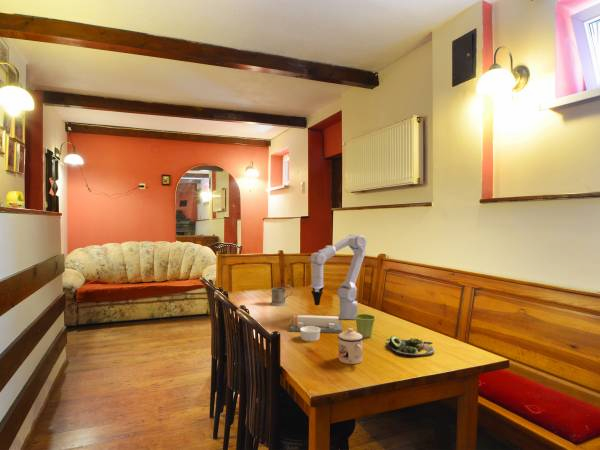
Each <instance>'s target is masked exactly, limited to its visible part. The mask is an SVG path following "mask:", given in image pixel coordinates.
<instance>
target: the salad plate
mask: <svg viewBox="0 0 600 450" xmlns="http://www.w3.org/2000/svg"><path fill="white" fill-rule="evenodd" d="M433 343H434V342H432V341H423V338H422V339H419V338H412V337H410V338H409V339H408V338H407V339H401V338H400V337H398V336H397V335H391V336H390V338H387V339H386V343H385V344H386V347H387V349H388V350H390V352H392V353H393V354H395V355H397V356H400V357H405V358H417V357H424V356H428V355H429V356H430V355H432V354H434V353H435V351H436V350H435V348H433V347H431V346H430V345H433ZM418 350H419V351H424V350H425V353H419V351H418ZM426 351H427V352H426Z"/></svg>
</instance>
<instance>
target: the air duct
mask: <svg viewBox="0 0 600 450" xmlns="http://www.w3.org/2000/svg"><path fill="white" fill-rule="evenodd" d="M339 320H340V319H339V315H313V314H294V316H293V321H294V326H298V322H303V326H323V327H329V323H334V327H338V323H339Z"/></svg>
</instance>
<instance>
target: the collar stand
mask: <svg viewBox="0 0 600 450" xmlns="http://www.w3.org/2000/svg"><path fill="white" fill-rule="evenodd" d="M342 325H343V324H342V322H339V323H338V327H334V323H329V327H323V326H315V327H319V328H320V333H326V334H327V333H330V334H331V333H333V334H340V333H342V332H343V328H342V327H343V326H342ZM302 327H305V326H303V322H298V326H294V320H292V322H291V324H290V326H289V332H293V331H294V332H297V333H299V332H300V333H301V331H300V328H302Z"/></svg>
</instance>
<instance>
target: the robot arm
mask: <svg viewBox="0 0 600 450" xmlns="http://www.w3.org/2000/svg"><path fill="white" fill-rule="evenodd" d="M366 245H367V240H366V237H365V236H364V235H362V234H361V235H360V234H358V235H356V234H349V235H347V236H345V237H344V238H343V239H341V240H340V241H338V242H337V243H335V244H333V245H331V244H330V245H325V247H324V248H322V249H319V250H318V251H317V252H313V253H311V255H310V257H309V261H310V263H311V284H309V287H310V288H312V290H311V295H312V298H313V302H314V305H315V306H320V304H321V297H322V295H323V292H324V291H323V290H324V287H325V285H324V264H325V263H326V261H327V260H328V259H330V258H332V257H334V256H335V255H336V253H337V252H338V251H340V250H342V249H344V248H346V247H349V248H350V249H351V250H352V252H353V255H352V259H351V263H350V266H349V269H348V272H347V275H346V276H345V280H344V281H343V282H342V283H341V284H340V285H339V287H338V289H337V291H336V295H337V297H338V298H339V299H338V300H339V314H338V317H339V320H355V317H354V316H355V315H357V314H359V311H358V300H356V299H357V291H358V288H357V286H356V282H357V280H358V276H359V273H360V270H361V267H362V264H363V261H364V258H365V255H366Z"/></svg>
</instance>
